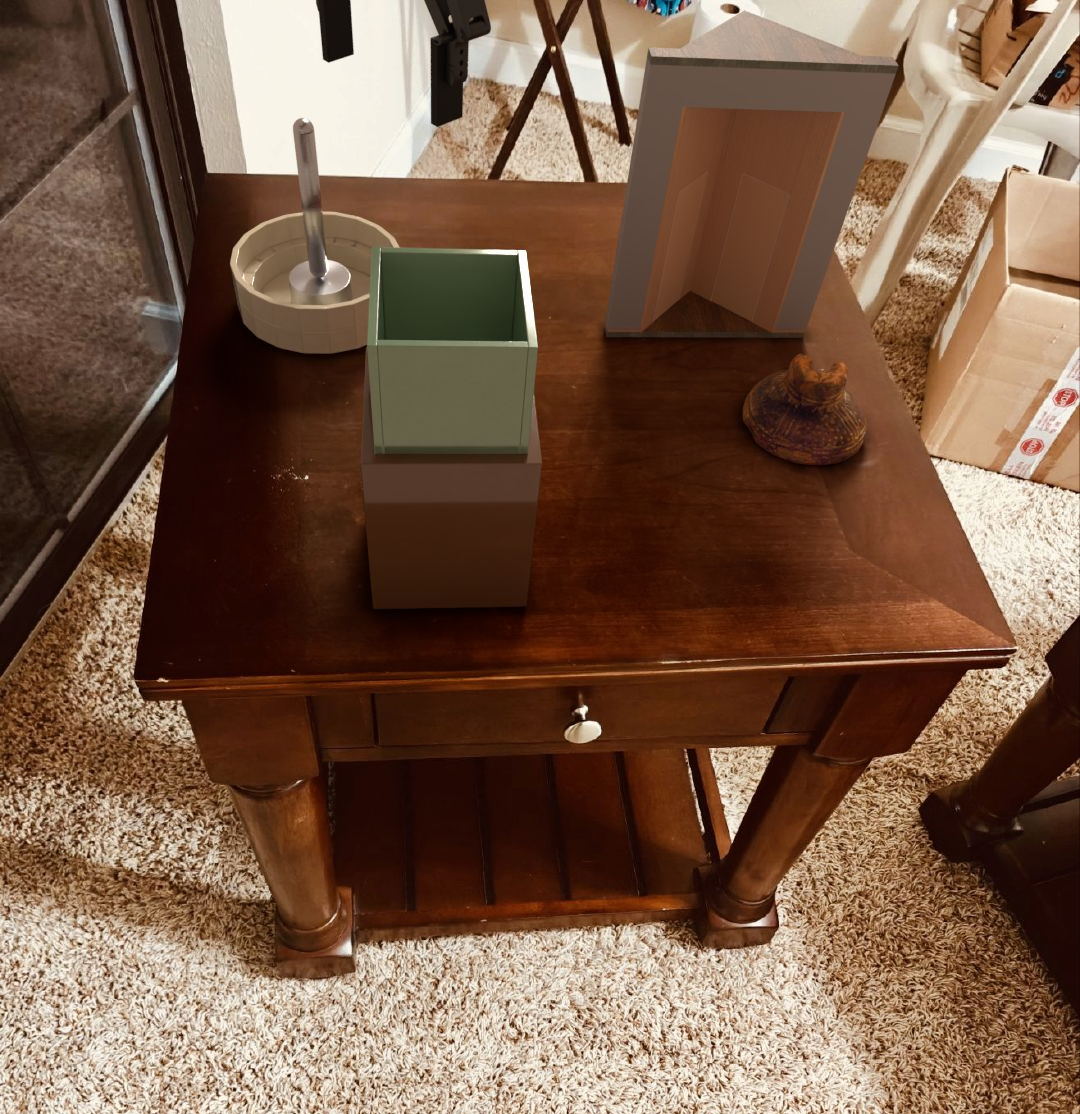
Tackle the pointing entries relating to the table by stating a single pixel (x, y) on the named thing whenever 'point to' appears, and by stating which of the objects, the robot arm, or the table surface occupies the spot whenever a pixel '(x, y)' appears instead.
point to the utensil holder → (450, 428)
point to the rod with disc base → (314, 233)
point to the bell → (806, 414)
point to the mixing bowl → (267, 292)
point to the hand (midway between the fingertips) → (390, 88)
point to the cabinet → (741, 180)
